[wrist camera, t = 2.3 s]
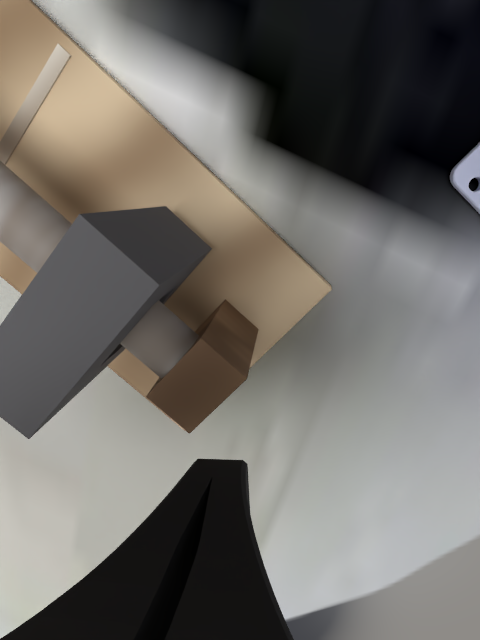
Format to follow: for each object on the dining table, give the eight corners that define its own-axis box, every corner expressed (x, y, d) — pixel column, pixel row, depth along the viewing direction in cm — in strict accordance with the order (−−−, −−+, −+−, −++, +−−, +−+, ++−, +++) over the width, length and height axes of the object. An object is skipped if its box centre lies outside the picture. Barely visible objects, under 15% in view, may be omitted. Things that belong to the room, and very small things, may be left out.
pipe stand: (330, 284, 17) (349, 327, 12) (188, 422, 20) (150, 507, 15) (-42, -69, 15) (-237, -223, 10) (-140, 145, 18) (-332, 123, 13)
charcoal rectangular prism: (212, 248, 16) (159, 285, 9) (122, 351, 17) (29, 439, 11) (165, 205, 15) (79, 213, 9) (80, 314, 17) (-42, 384, 11)
